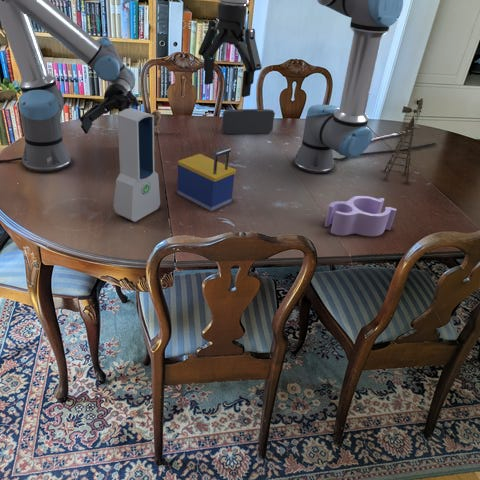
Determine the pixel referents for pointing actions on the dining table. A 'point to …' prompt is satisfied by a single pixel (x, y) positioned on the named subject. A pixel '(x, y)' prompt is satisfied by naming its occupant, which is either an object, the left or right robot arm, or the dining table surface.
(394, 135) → the sword
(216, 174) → the lid
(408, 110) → the miniature windmill
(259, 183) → the dining table surface
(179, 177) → the chest
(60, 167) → the left robot arm
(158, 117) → the lion figurine
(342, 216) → the clip
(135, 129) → the electronic device
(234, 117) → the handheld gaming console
